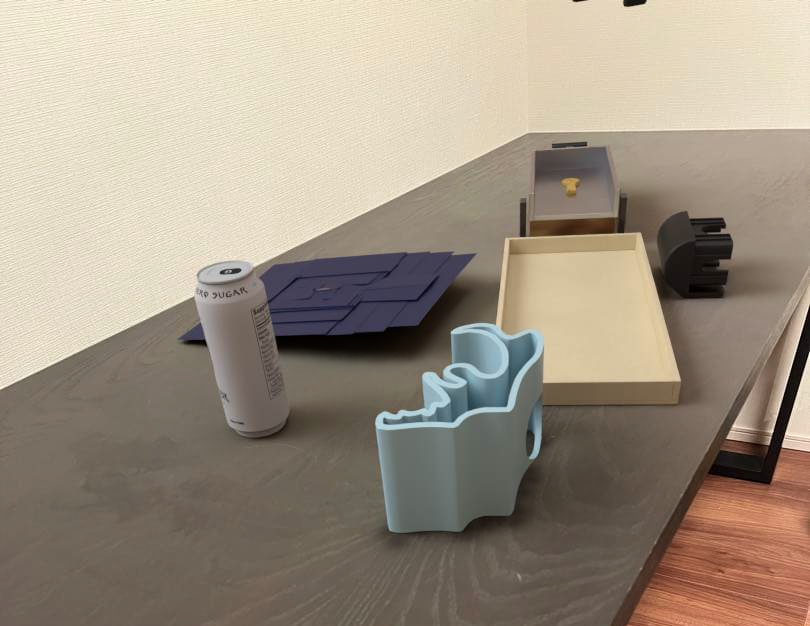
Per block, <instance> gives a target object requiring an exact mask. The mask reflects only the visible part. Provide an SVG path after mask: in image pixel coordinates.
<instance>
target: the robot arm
mask: <svg viewBox="0 0 810 626" xmlns="http://www.w3.org/2000/svg"><path fill="white" fill-rule="evenodd" d="M571 1H572V2H573V3H581V2H587V1H588V0H571ZM647 2H648V0H622V4H623V7H625V8H630V7H631V8H632V7H638V6H642V5H646V4H647Z"/></svg>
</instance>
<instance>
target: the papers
mask: <svg viewBox="0 0 810 626" xmlns="http://www.w3.org/2000/svg"><path fill="white" fill-rule="evenodd" d="M454 253H455V250H454V251H439V252H437V251H435V252H431V251H419V252H408V251H400V252H389V253H376V254H363V255H351V256H337V257H325V258H314V259H309V260H301V261H294V262H288V263H287V262H286V263H277V264H273V265H272V266H271V267H270V268H268V269H267V270H266V271H264V273H262V274H261V275H260V276H258V277H259V278H260V279H261V281H262V282H263V284H264V287H265V292H266V297H267V302H268V307H269V311H270V316H271V321H272V326H273V331H274V336H275V337H277V336H278V337H280V336H282V337H283V336H309V335H311V336H312V335H320V336H338V335H353V334H355V333H374V332H385V330H386V329H387V328H391V327H392V328H393V327H410V326H411V327H412V326H418V325H419V324H420V323H421V321H422V320H423V319H424V318H425V316H426V315H428V312H429V311H430V310H431V309H432V307H434V305H435V304H436V303H437V302H438V300H439V299H440V298H441V296H442V295H443V294H444V293H445V291H446V290H447V289H448V288H449V286H451V284H452V283H453V282H454V281H455V280H456V278H457V277H459V275H460V274H461V273H462V271H464V269H466V267H467V266H468V264H469V263H470V262H471V261H472V260H473V259H474V258H475V256H477V254H478V253H477V252H475V253H463V254H462V253H461V254H454ZM187 340H188V341H192V340H193V341H195V340H197V341H202V340H206V339H205V335H204V332H203V328H202V324H201V322H199V323H197V324H196V325H195V326H194V327H192V328H190V330H188V331H187V332H185V333H184V334H183V335H180V337H179V338H177V341H187Z"/></svg>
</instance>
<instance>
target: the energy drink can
mask: <svg viewBox="0 0 810 626" xmlns="http://www.w3.org/2000/svg"><path fill="white" fill-rule="evenodd" d="M195 277H196V280H197V283H196V288H195V291H194V295H193V297H194V301H195V306H196V309H197V313H198V317H199V320H200V323H201V324H202V328H203V332H204V335H205V339H204V340H205V342H206V346H207V351H208V355H209V358H210V361H211V366H212V369H213V373H214V377H215V380H216V385H217V389H218V392H219V395H220V399H221V403H222V406H223V411H224V414H225V418H226V422H227V424H228V426H229V427H230V428H231V429H233V430H234V431H235V432H236V433H237V434H238V435H240V436H242V437H245V438H262V437H267V436H270V435H272V434H275V433H277V432H279V431H280V430H281V429H282V428H283V427H284V426H285V425H286V423H287V419H288V417H289V416H290V413H291V411H290V410H291V409H290V404H289V400H288V399H289V398H288V394H287V390H286V385H285V380H284V376H283V371H282V370H283V369H282V366H281V360H280V356H279V351H278V346H277V340H276V336H274V331H273V326H272V321H271V316H270V311H269V307H268V302H267V297H266V292H265V287H264V284H263V282H262V281H261V279H260V278H259V277H260V276H259V275H257V273H256V272H255V271H254V265H253V264H252V263H251V262H249V261H245V260H234V259H233V260H225V261H218V262H215V263H212V264H209V265H207V266H204V267H202V268H201V269H200V270H198V271H197V273H196V275H195Z"/></svg>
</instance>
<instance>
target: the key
mask: <svg viewBox="0 0 810 626" xmlns="http://www.w3.org/2000/svg"><path fill="white" fill-rule="evenodd" d="M579 181H580V180H579V179H577V178H567V179H564V180H562V185H563V186H566V187H567V194H576V186H577V185H579Z"/></svg>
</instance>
